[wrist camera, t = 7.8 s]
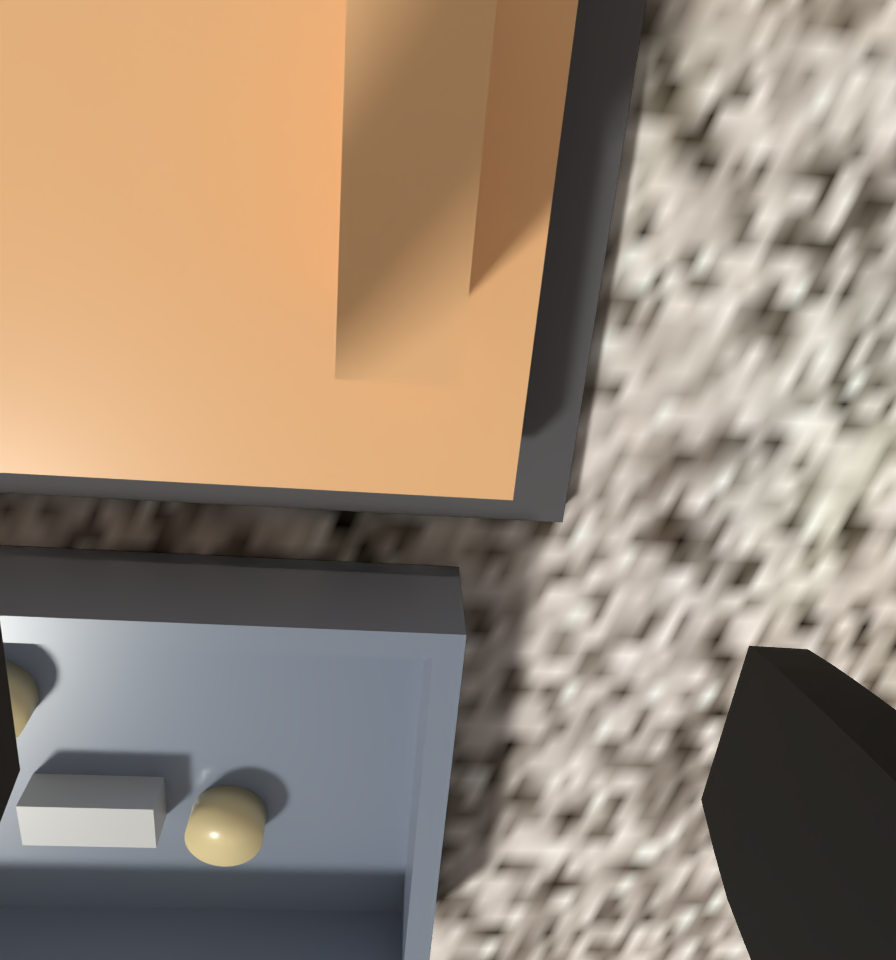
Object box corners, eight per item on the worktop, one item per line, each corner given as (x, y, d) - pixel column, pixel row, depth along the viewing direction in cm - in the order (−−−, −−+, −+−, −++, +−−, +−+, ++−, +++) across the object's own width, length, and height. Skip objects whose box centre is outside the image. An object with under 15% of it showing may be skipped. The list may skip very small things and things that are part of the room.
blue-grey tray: (458, 567, 19) (466, 634, 16) (421, 914, 23) (424, 1004, 21) (-326, 529, 17) (-434, 597, 15) (-199, 905, 22) (-267, 1000, 20)
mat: (694, -353, 12) (705, -369, 12) (558, 511, 18) (562, 522, 18) (-864, -569, 11) (-919, -597, 10) (-459, 456, 17) (-483, 467, 16)
